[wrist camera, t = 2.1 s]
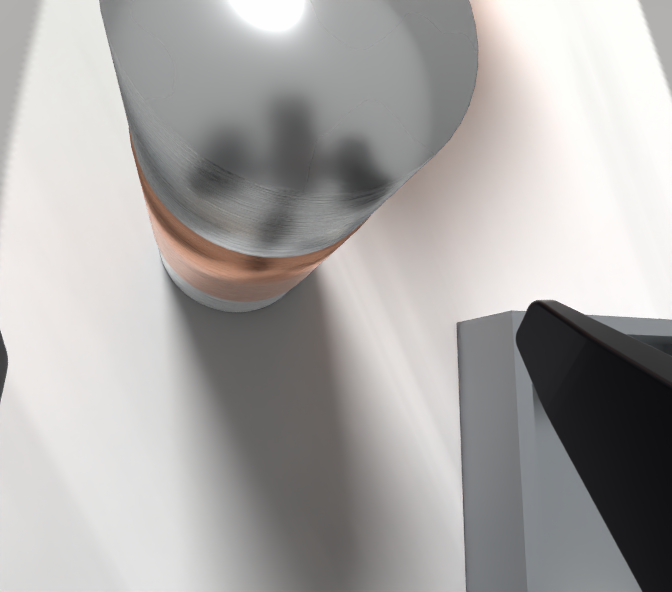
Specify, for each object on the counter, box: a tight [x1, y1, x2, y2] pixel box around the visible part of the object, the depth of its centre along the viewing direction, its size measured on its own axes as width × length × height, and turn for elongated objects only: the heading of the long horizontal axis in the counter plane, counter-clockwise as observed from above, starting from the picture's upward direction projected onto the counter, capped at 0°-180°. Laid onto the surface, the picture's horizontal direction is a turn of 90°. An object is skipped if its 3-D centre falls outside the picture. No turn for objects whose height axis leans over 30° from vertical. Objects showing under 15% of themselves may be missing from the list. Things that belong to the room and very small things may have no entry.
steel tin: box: [99, 0, 478, 312], centre depth 14 cm, size 6×6×13 cm
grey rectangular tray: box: [457, 311, 672, 592], centre depth 20 cm, size 20×12×4 cm, turn 0°
